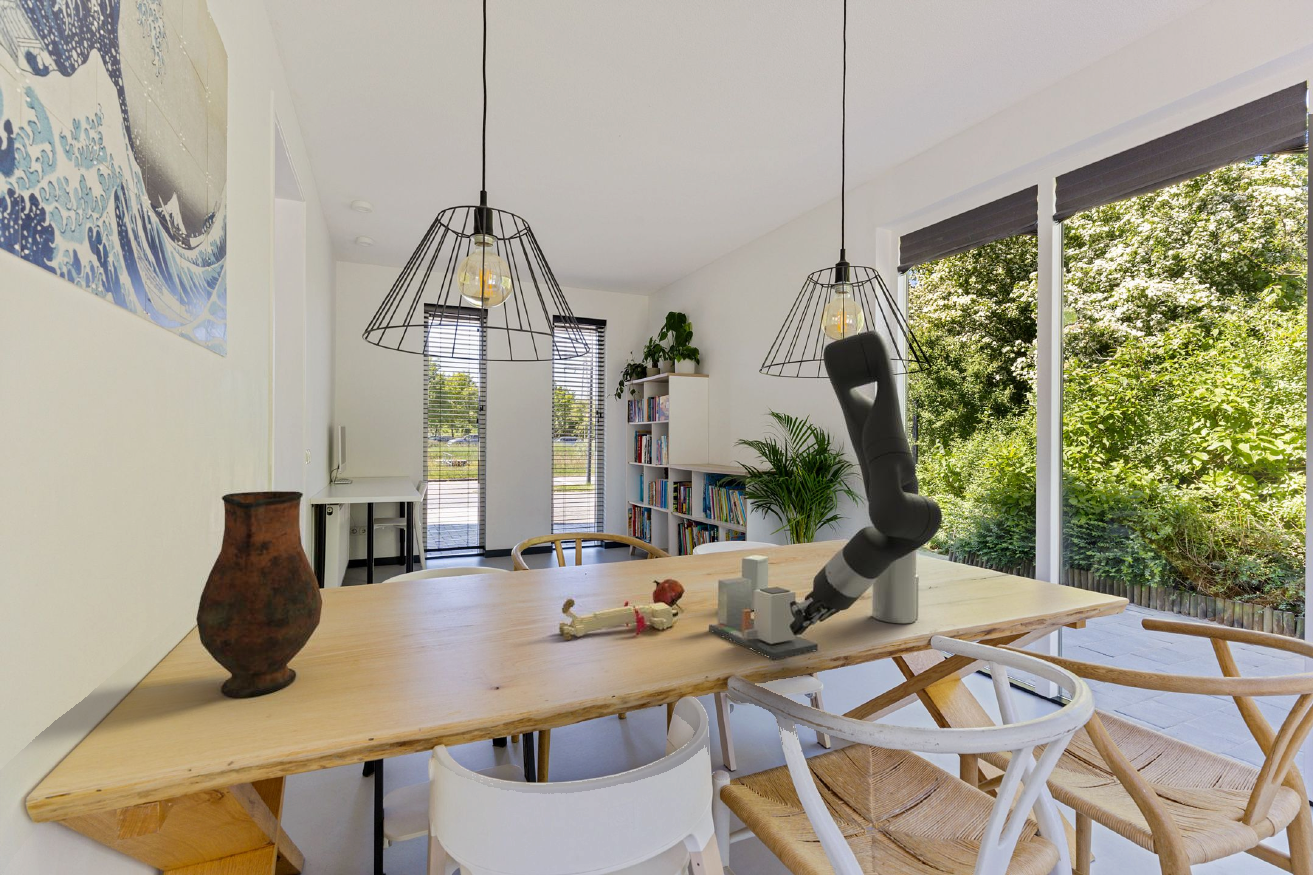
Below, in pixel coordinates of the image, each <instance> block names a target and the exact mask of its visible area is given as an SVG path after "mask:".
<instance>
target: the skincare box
mask: <svg viewBox="0 0 1313 875" xmlns="http://www.w3.org/2000/svg"><path fill="white" fill-rule="evenodd" d="M769 558H770V557H769V556H764V555H757V554H756V555H755V554H754V555H750V556H749V555H748V556H746V557H742V559H741V577H743V578H746V579H750V580H751V611H753V610H754V590H759V589H765V588H769V571H770V569H769V568H770V566H769V564H770V563H769V562H770V560H769Z"/></svg>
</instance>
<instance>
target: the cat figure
mask: <svg viewBox="0 0 1313 875" xmlns="http://www.w3.org/2000/svg"><path fill="white" fill-rule="evenodd" d="M574 606H575V599H573V598H568V599H566V601H565V602H564V603H563V604H562V607H561V613H562V614H564V615H565V616H566V617H568V618H570V619H571V620H570V622H567V621H566V622H565V621H564V620H563V621H559V623H558V624H559V627H558V630H559V631H558V632H559V635H560V634H561V635H560V636H563V639H565V640H564V641H565V642H566V641H567V640H568V641H571V639H572V637H571V635H572V636H573V635H574V637H583V636H584V635H588V633H590V632H596V631H601V630H602V629H603V628H610V627H614V626H619V625H625V626H626V625H627V626H626V627H627V628H630V626H629V625H632V624H633V625H634V624H636V633H635V634H636V635H640V634H641V633H642V631H643V630H644V629H646V628H647V623H649V624H650V625H651V626H653V627H654V628H656V629H659V630H666V629H667V628H669V627H671V626H675V625H676V624H677V623H678V621H679V620H681V617H678V616H679V612H678V611H677V610H676V609H673V607H669V606H668V605H666V604H665V603H650V604H648V605H644V604H641V605H636V606H635V605H633V606H630V605H629V601H625V602H624V605H623V606H622V607H616V608H610V609H604V610H599V611H594V612H593V613H590V614H585V615H580V616H578V615H577V614H576V613H575V612H573V611H572V610H571V608H574ZM675 618H676V619H675Z"/></svg>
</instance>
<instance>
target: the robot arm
mask: <svg viewBox="0 0 1313 875" xmlns="http://www.w3.org/2000/svg"><path fill="white" fill-rule="evenodd" d="M882 335H883V334H881V333H880V331H878V330H868V331H863V332H859V333H856V334H853V335H850V336H846V337H843V338H841V339H837V340H835V341H832V342H830V343H828V344H826V345H825V347H824V349H823V354H822V355H823V356H822V357H823V362H824V367H825V370H826V374H827V375H828V376H827V377H828V378H829V380H830V383H831V386H832V388H833V390H834V393H835V395H836V397H837V401H838V403H839V405H840V407H841V411H842V414H843V417H844V421H845V425H846V428H847V432H848V437H849V438H850V442H851V445H852V448H853V450H854V453H855V455H856V458H857V460H858V465H859V468H860V471H861V475H862V476H861V477H862V481H863V487H864V491H865V495H866V500H867V502H868V516H869V519H870V521H871V523H872V526H870V525H869V526H865V527H863V528H861V529H859V531H857V532H856V533H855V535H853V537H852V538H851V539H850V540H848V542H847V543H846V544H845V545H844V546H843V547H842V548H841V549H839V551H836V553H835V554H834V555H833V556H832V557H831V558H830V559H829V561H828V562H827V563H826V564H825V565H824V566H823V567H822V568H821V569H820V571H819V572H818V573H817V574H816V575H814V578H813V581H812V582H813V584H812V586H813V587H812V590H810V592H809V593H808V594H807V595H806V596H805V597H804V600H803V601H801V602H799V601H796V600H795V601H792V602H791V603H790V609H791V614H792V616H793V617H794V619H795V620H794V621H793V622H792V623H791V624H790V629H791V631H792V633H793V634H794V635H795V636H800V635H803V633H804V632H806V631H807V629H808V628H809V627H810V626H812V625H815V624H816V623H818V622H820V623H823V622H824V621H826V620H827V619H829V618H831V617H832V616H834V615H836V614H838V613H839V612H841V611H845V610H848V609H849V608H850V607H851V606H853V605H854V604H855V603H856V601H858V600H859V599H860V598H861V597H862V596H863V595H864V594H865V593H866V592H867V591H868V590H869V589H870V588H872V589H871V592H872V596H871V597H872V600H871V601H872V602H871V606H872V608H871V609H872V610H871V616H872V617H873V618H874V619H876V620H879V621H881V622H885V623H886V622H887V623H892V624H911V623H914V622H916V620H917V619H919V590H920V589H919V587H920V586H919V584H920V583H919V582H920V581H919V576H918V575H917V550H918V549H920V548H921V547H923V546H924V545H926V544H928V543H929V542H931V540H932V539H933V538H934V537H935V536H936V534H937V533H938V531H939V529H940V527H941V524H942V520H943V515H942V510H941V507H940V505H939V504H938V503H937V501H935V500H934V499H932V498H931V497H928V496H926V495H921V494H919V490H920V489H919V480H918V476H917V473H916V472H917V471H916V470H917V469H916V468H917V467H916V464H915V461H914V458H913V454H912V452H911V447H910V445H909V442H908V439H907V436H906V432H905V429H904V423H903V420H902V418H903V417H902V413H901V405H900V400H899V393H898V388H897V384H896V378H895V373H894V372H895V371H894V367H893V363H892V359H891V355H890V352H889V348H888V346H887V343H886V341H885V339H884V336H882ZM872 383H876V392H875V393H876V394H875V396H874V397H875V398H874V399H872V398H870V397H869V396H866V395H864V394H863V393H861V392H860V391H859V390H858V389H857V388H858V387H861V386H866V385H869V384H872Z"/></svg>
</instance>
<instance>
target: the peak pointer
mask: <svg viewBox="0 0 1313 875" xmlns="http://www.w3.org/2000/svg"><path fill="white" fill-rule="evenodd" d="M751 618H752V610H749V609H747V610H742V636H743V637H744V631H745V630H750V629H751Z"/></svg>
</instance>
